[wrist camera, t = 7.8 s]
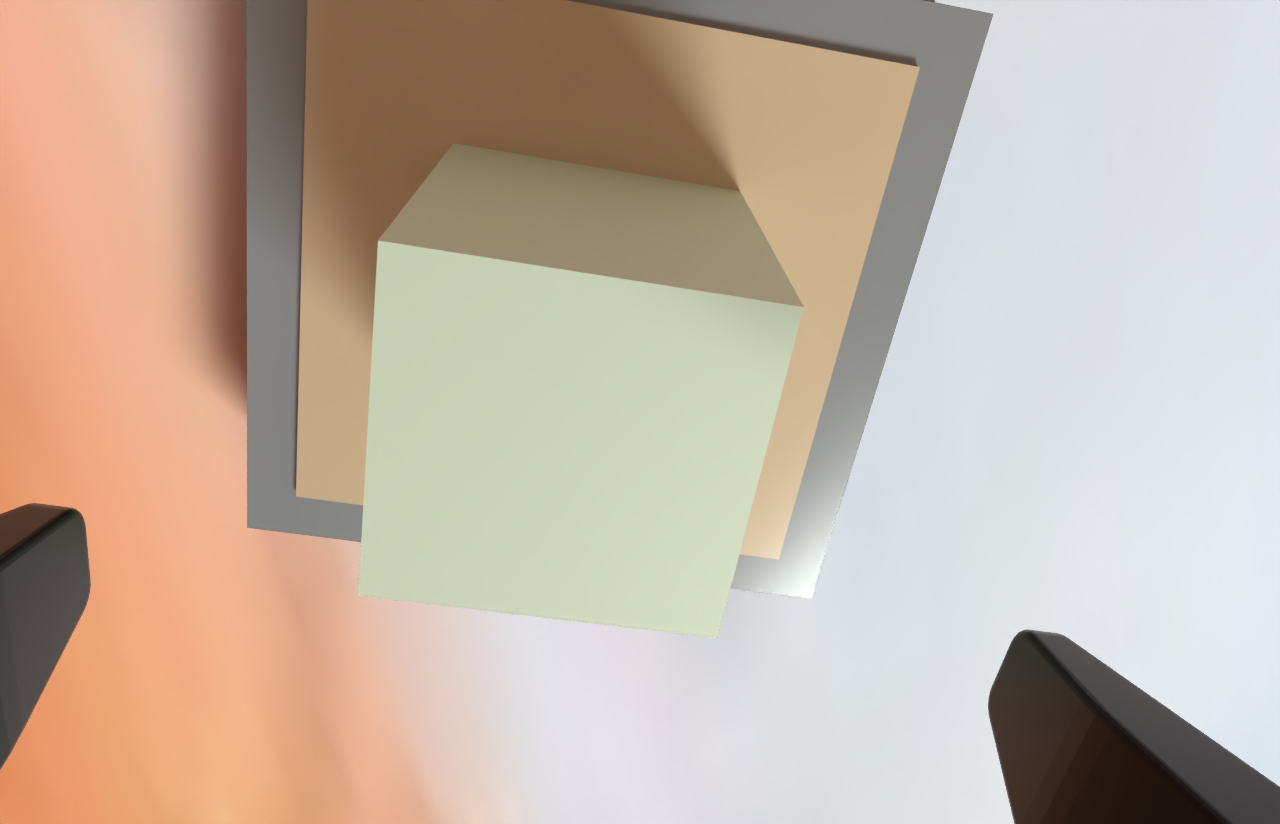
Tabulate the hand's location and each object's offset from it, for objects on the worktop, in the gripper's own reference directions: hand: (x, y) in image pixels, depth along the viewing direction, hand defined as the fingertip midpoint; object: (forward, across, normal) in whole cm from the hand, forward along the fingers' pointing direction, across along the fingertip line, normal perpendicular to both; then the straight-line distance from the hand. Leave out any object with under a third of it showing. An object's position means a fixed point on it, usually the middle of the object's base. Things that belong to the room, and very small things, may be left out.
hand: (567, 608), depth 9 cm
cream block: (+9, 0, 0) cm, 9 cm away
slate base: (+12, 0, 0) cm, 12 cm away
